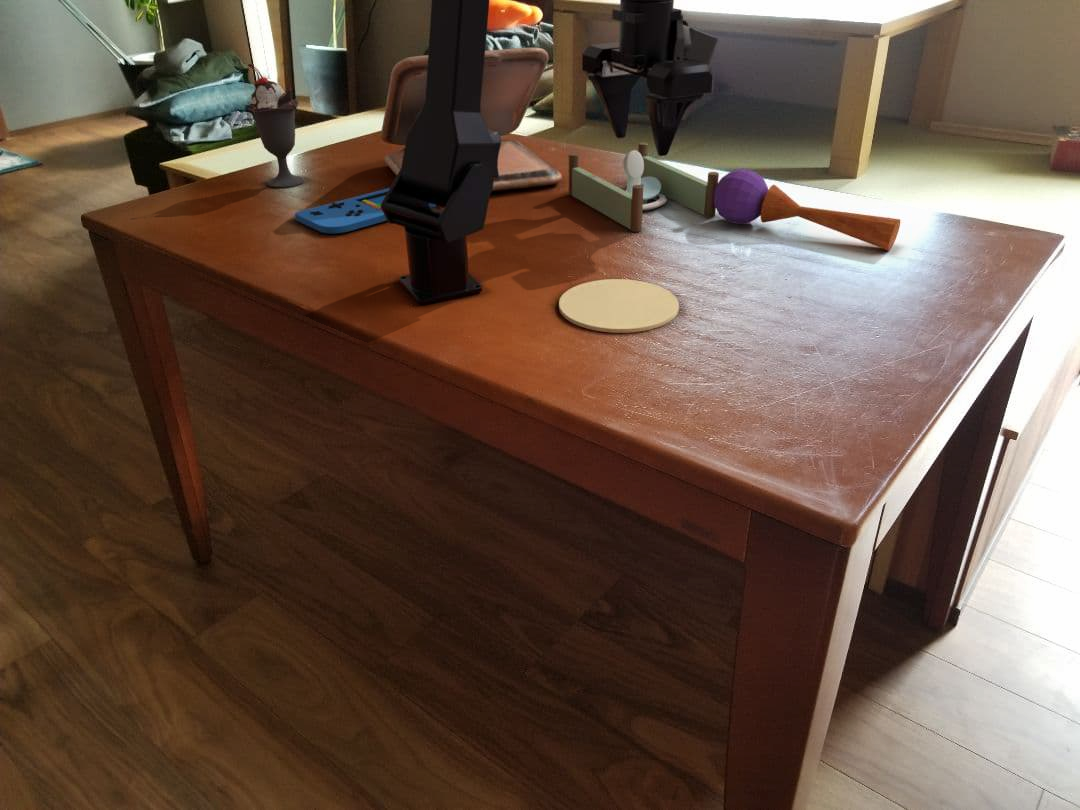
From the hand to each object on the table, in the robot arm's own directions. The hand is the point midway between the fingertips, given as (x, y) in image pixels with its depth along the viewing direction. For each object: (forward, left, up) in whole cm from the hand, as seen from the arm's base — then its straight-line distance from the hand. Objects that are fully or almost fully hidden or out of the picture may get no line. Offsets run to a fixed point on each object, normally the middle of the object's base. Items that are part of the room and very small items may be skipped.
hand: (640, 146), depth 101 cm
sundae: (+31, +36, -7) cm, 48 cm away
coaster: (-24, +17, -7) cm, 30 cm away
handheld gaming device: (+13, +30, -7) cm, 33 cm away
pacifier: (0, 0, -7) cm, 7 cm away
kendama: (-17, -10, -7) cm, 21 cm away
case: (+22, +13, -7) cm, 26 cm away
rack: (0, 0, -7) cm, 7 cm away
